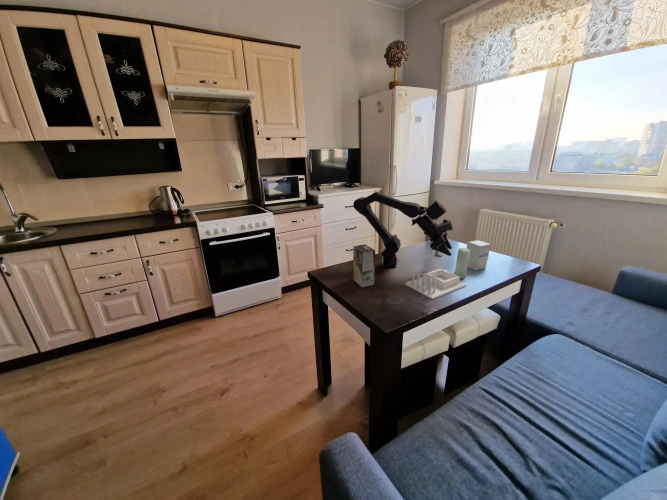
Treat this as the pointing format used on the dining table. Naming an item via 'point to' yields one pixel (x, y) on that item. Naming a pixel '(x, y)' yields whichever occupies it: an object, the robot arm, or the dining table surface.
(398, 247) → the robot arm
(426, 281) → the dish drying rack
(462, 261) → the sage green domed cylinder
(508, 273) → the dining table surface
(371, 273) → the coffee box
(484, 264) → the supplement box
